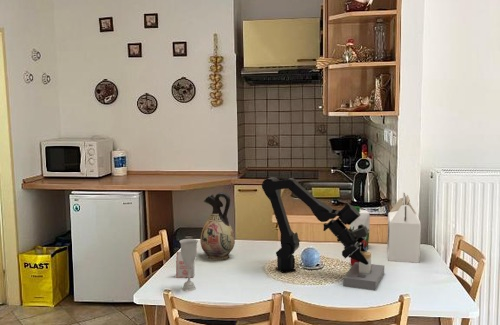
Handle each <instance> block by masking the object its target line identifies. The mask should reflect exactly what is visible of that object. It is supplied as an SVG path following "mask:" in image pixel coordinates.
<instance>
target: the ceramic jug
mask: <svg viewBox="0 0 500 325" xmlns="http://www.w3.org/2000/svg"><path fill="white" fill-rule="evenodd" d="M220 198H224V200H225V207H224V210H223V211H222V210H221V208H223V206H224V204H223V202H222V201H221V199H220ZM203 203H206V204H207V205H210V206H211V207H212V213H211V214H210V216H209V217H208V219H207V220H206V222H205V223H204V226H203V227H202V230H201V233H200V239H199V242H200V247H201V250H202V251H203V252H204V253H205V255H206V256H207V259H209V260H213V261H218V260H219V261H220V260H226V259H229V255H230V253H231V252H232V251H233V249H234V247H235V240H236V239H235V234H234V230H233V227H232V226H231V224H230V222H229V218H228V212H229V208H230V206H231V197H230V195H229V194H228V193H227V192H224V191H223V192H221V191H220V192H218V193H216V195H214V194H213V193H212V194H211V195H208V196H207V197H206V198H205V199H204V200H203Z"/></svg>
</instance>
